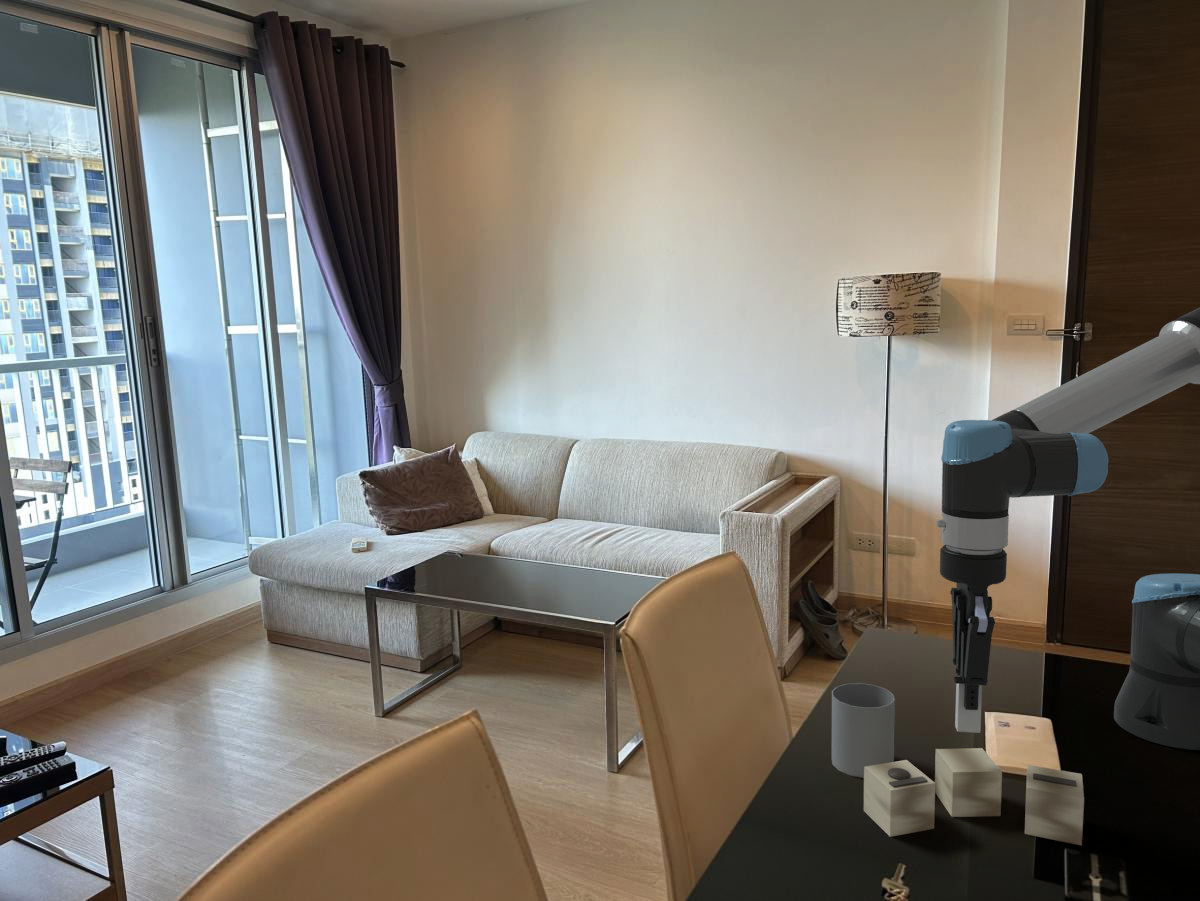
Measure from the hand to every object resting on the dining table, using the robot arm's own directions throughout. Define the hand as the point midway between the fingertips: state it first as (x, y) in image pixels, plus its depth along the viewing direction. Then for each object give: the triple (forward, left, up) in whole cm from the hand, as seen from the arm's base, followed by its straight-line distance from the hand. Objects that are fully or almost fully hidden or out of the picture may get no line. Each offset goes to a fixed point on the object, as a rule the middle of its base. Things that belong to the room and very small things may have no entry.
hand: (967, 729), depth 111 cm
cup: (+12, -9, -10) cm, 18 cm away
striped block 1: (+9, +5, -10) cm, 14 cm away
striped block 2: (-9, +4, -10) cm, 14 cm away
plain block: (0, 0, -10) cm, 10 cm away
